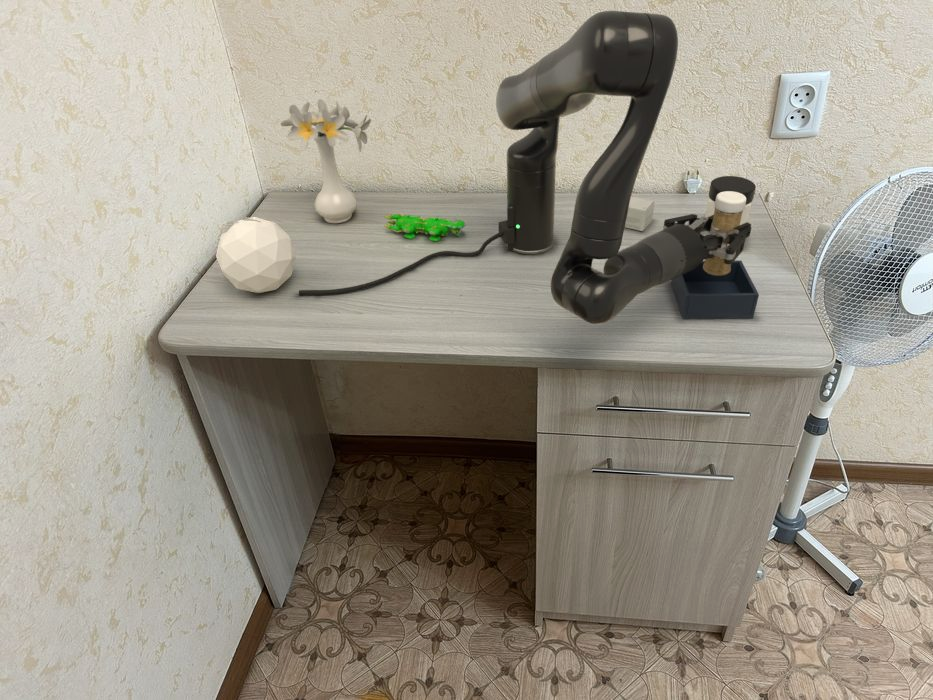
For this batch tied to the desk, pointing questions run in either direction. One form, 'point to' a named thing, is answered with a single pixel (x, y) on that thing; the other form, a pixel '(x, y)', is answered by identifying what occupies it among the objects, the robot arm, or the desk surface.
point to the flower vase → (328, 153)
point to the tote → (715, 294)
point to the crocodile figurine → (424, 226)
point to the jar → (733, 185)
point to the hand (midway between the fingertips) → (735, 223)
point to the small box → (639, 213)
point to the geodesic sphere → (255, 255)
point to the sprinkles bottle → (725, 226)
